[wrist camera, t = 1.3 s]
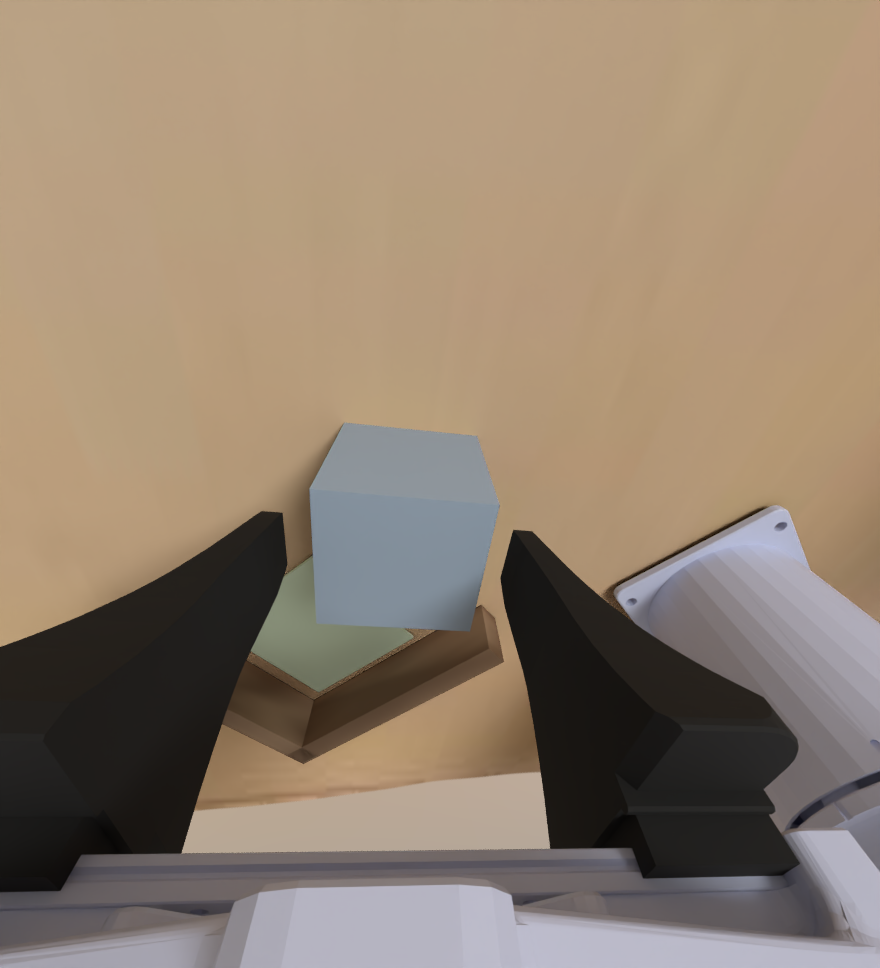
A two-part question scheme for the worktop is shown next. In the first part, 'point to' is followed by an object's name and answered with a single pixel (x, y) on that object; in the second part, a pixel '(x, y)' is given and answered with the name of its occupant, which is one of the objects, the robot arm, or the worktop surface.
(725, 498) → the worktop surface
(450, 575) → the cube
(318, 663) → the pad
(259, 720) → the wooden l-bracket
